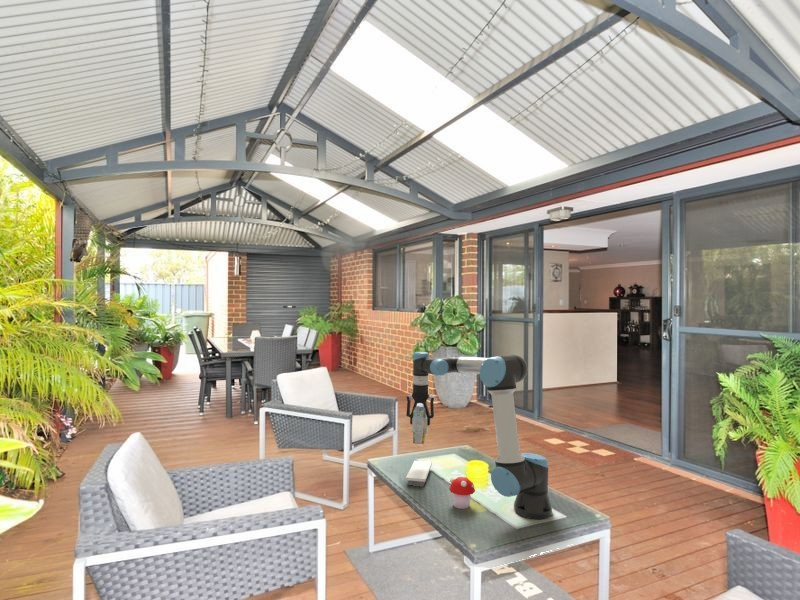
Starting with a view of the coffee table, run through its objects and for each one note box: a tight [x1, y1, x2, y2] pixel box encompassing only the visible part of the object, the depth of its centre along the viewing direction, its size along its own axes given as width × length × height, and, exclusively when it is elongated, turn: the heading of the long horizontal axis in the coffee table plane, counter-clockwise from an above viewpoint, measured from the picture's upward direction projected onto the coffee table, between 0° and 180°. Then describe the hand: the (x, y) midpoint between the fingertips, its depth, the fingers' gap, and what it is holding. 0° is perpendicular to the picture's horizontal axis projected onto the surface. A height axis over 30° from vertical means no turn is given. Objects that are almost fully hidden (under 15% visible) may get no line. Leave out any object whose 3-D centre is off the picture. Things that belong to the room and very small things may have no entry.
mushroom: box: [449, 476, 476, 510], centre depth 204 cm, size 11×11×12 cm
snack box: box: [412, 403, 427, 445], centre depth 235 cm, size 21×6×15 cm, turn 174°
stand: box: [405, 460, 433, 488], centre depth 235 cm, size 24×9×4 cm, turn 169°
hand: (420, 431), depth 235 cm, fingers closed on snack box, 6 cm apart
